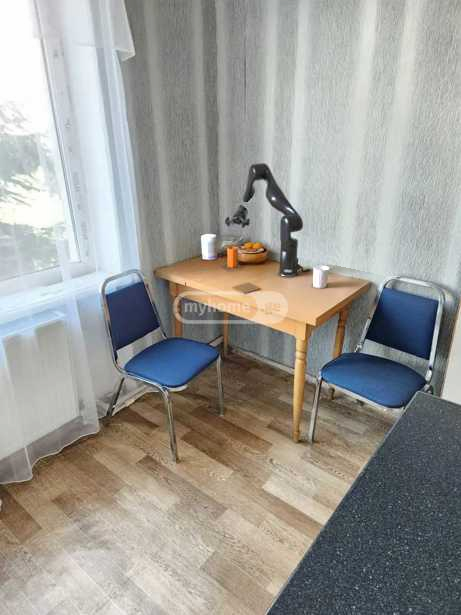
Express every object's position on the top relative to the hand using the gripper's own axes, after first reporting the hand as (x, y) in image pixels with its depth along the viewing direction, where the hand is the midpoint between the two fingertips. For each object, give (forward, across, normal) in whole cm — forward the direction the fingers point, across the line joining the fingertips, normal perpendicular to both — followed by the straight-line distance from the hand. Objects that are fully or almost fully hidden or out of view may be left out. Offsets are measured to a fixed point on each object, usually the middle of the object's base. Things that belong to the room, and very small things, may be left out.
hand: (235, 225), depth 228 cm
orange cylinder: (+9, 0, +22) cm, 23 cm away
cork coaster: (+40, +14, +18) cm, 46 cm away
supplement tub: (-5, -17, +25) cm, 31 cm away
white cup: (+30, +51, +18) cm, 61 cm away
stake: (+9, 0, +22) cm, 24 cm away
